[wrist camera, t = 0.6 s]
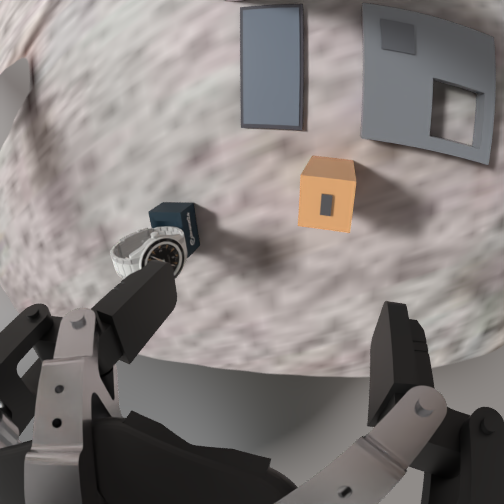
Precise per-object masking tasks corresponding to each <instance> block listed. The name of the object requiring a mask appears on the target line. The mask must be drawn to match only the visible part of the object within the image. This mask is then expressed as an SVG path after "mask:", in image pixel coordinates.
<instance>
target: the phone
mask: <svg viewBox="0 0 504 504" xmlns="http://www.w3.org/2000/svg"><path fill="white" fill-rule="evenodd" d="M240 77H241V128H271V129H290V130H303V92H304V30H303V5H302V4H286V5H264V6H251V7H240Z"/></svg>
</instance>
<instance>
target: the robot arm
mask: <svg viewBox="0 0 504 504" xmlns="http://www.w3.org/2000/svg"><path fill="white" fill-rule="evenodd" d="M227 1H242V0H227ZM176 302H177V292H176V285H175V279H174V272H173V267H172V264H171V263H168V262H163V261H158V260H151V261H150V262H149V263H148V264H146V265H145V266H144V267H143V268H142V269H140V270H137V271H135V272H133V273H131V274H129V275H128V276H127V277H126V278H125V279H123V280H122V281H121V283H119V284H118V285H117V286H116V287H114V289H112V290H111V291H110V292H109V293H108V294H107V295H106V296H105V297H103V298H102V299H101V300H100V301H99V302H98V303H97V304H96V305H95V306H94V307H93V308H91V309H89V308H77V309H74V310H72V311H70V312H68V313H67V314H66V315H65V316H64V317H55V316H51V314H50V312H49V309H48V307H47V306H46V305H44V304H34V305H31V306H29V307H28V308H26V309H25V310H24V311H23V312H22V313H20V314H19V315H18V316H17V317H16V318H15V319H14V320H13V321H12V322H11V323H10V324H9V325H8V326H7V327H6V328H5V329H4V330H3V331H2V332H0V504H378V503H379V502H380V501H381V500H382V499H383V498H384V497H385V496H386V495H387V494H388V493H389V492H390V491H391V490H392V489H393V487H395V485H396V484H397V483H398V482H399V481H400V480H401V479H402V477H403V476H404V475H405V473H406V472H407V470H406V469H407V468H408V467H412V468H415V469H418V470H421V471H424V482H423V491H422V500H421V504H504V421H503V418H502V417H501V415H500V414H499V413H498V412H497V411H496V410H494V409H492V408H489V407H481V408H478V409H477V410H476V411H474V413H473V414H472V415H471V416H470V415H467V414H464V413H461V412H458V411H455V410H453V409H450V408H448V407H447V404H446V401H445V398H444V397H443V395H442V394H441V393H440V392H439V391H437V390H436V389H435V388H434V382H433V375H432V369H431V363H430V357H429V354H428V347H427V344H426V337H425V332H424V330H423V328H422V327H421V325H420V324H419V323H418V321H417V320H412V319H409V317H408V311H407V306H406V304H402V303H395V302H389V301H385V302H384V305H383V307H382V310H381V313H380V316H379V319H378V322H377V325H376V328H375V331H374V334H373V337H372V342H371V349H370V390H369V410H368V423H367V426H370V427H374V428H373V429H372V430H371V431H370V432H369V433H368V434H367V435H366V436H364V437H363V436H362V437H360V438H359V439H358V440H357V441H355V442H354V443H353V444H352V445H351V446H350V447H349V448H347V449H346V450H345V451H344V452H343V453H342V454H340V455H339V456H338V457H337V458H336V459H335V460H333V461H332V462H331V463H330V464H328V465H327V466H326V467H325V468H324V469H322V470H321V471H320V472H318V473H317V474H316V475H314V476H313V477H312V478H310V479H309V480H308V481H307V482H305V483H304V484H302V485H301V486H299V487H297V486H296V485H295V484H294V483H293V482H292V481H291V480H290V479H288V478H287V477H286V476H285V475H283V474H281V473H280V472H278V471H276V470H274V469H272V468H270V461H271V459H270V458H265V457H261V456H257V455H253V454H250V453H246V452H242V451H238V450H235V449H227V448H215V447H205V446H196V445H192V444H189V443H188V442H186V441H185V440H183V439H181V438H180V437H179V436H177V435H176V434H174V433H173V432H172V431H170V430H169V429H168V428H166V427H165V426H164V425H162V424H161V423H158V422H156V421H154V420H151V419H149V418H147V417H144V416H142V415H140V414H138V413H136V412H134V411H131V412H130V414H129V415H128V416H127V418H123V417H122V414H121V411H120V407H119V398H118V397H119V396H118V381H117V367H116V365H115V364H116V362H117V361H118V360H121V361H123V362H126V363H128V364H130V363H131V362H132V361H133V360H134V358H135V357H136V356H137V354H138V353H139V352H140V351H141V349H142V348H143V347H144V346H145V344H146V343H147V342H148V341H149V339H150V338H151V337H152V336H153V334H154V333H155V332H156V331H157V329H158V328H159V327H160V326H161V324H162V323H163V322H164V321H165V320H166V318H167V317H168V316H169V315H170V313H171V312H172V311H173V310H174V308H175V305H176ZM32 347H33V348H34V350H35V352H36V353H37V355H38V357H39V358H38V359H37V361H36V362H35V363H34V364H33V365H32V366H31V367H30V369H29V370H28V371H27V372H26V373H25V374H24V375H23V377H22V378H20V377H19V376H18V374H17V364H18V363H19V361H20V360H21V359H22V358H23V357H24V356H25V355H26V353H28V351H29V350H30V349H31V348H32ZM33 417H34V426H33V438H32V440H31V441H27V442H23V443H22V442H21V441H20V440H19V436H20V435H21V433H22V432H23V430H24V429H25V428H26V426H27V425H28V424H29V422H30V421H31V419H32V418H33Z"/></svg>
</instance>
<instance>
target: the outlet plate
mask: <svg viewBox="0 0 504 504" xmlns="http://www.w3.org/2000/svg"><path fill="white" fill-rule="evenodd" d="M362 31H363V93H362V117H361V133H360V136H361V138H363V139H370V140H377V141H384V142H390V143H396V144H401V145H407V146H412V147H417V148H422V149H427V150H431V151H436V152H440V153H445V154H449V155H453V156H457V157H461V158H465V159H468V160H472V161H476V162H479V163H483V164H486V165H488V164H489V158H490V151H491V144H492V135H493V125H494V113H495V91H496V67H495V45H494V37H492V36H489V35H487V34H485V33H482V32H479V31H477V30H474V29H471V28H469V27H466V26H463V25H460V24H457V23H454V22H451V21H447V20H444V19H441V18H437V17H434V16H430V15H426V14H422V13H418V12H413V11H409V10H404V9H399V8H394V7H388V6H382V5H376V4H368V3H362ZM433 80H434V81H438V82H441V83H445V84H449V85H452V86H456V87H459V88H462V89H466V90H469V91H472V92H475V93H477V94H476V113H475V125H474V135H473V144H472V146H471V145H467V144H464V143H460V142H456V141H452V140H448V139H444V138H440V137H436V136H431V135H430V125H431V112H432V94H433Z"/></svg>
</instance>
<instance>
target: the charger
mask: <svg viewBox="0 0 504 504" xmlns="http://www.w3.org/2000/svg"><path fill="white" fill-rule="evenodd" d="M355 189H356V176H355V169H354V163H353V160H346V159H338V158H329V157H319V156H312V157H311V159H310V160H309V162H308V164H307V165H306V167H305V169H304V170H303V172H302V174H301V179H300V199H299V216H298V226H302V227H310V228H318V229H325V230H333V231H340V232H347V233H350V227H351V220H352V213H353V205H354V197H355Z"/></svg>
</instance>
